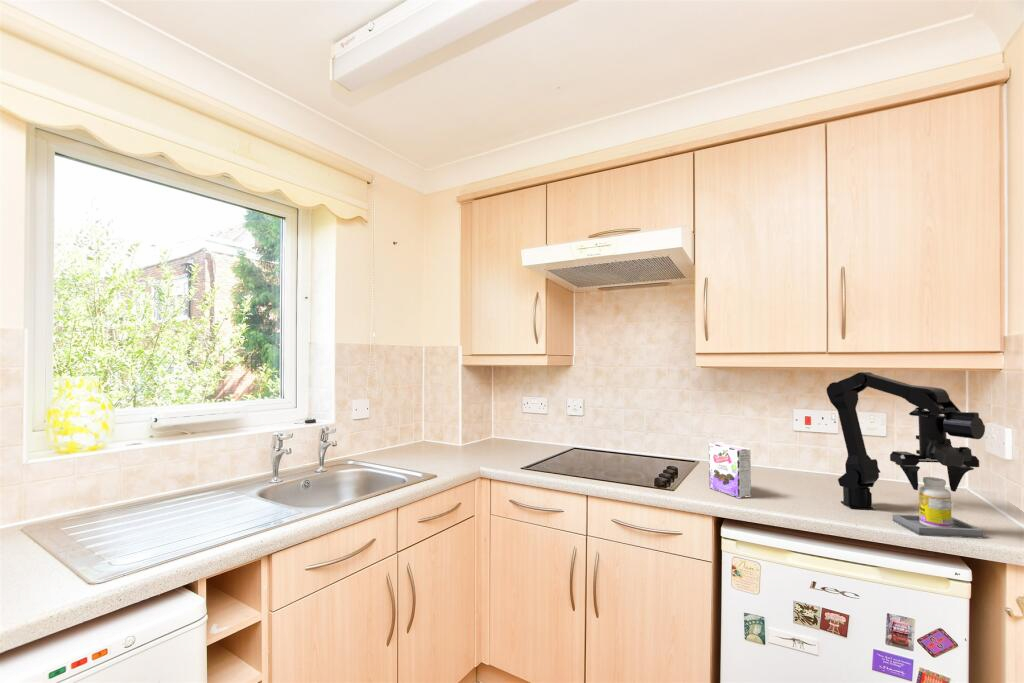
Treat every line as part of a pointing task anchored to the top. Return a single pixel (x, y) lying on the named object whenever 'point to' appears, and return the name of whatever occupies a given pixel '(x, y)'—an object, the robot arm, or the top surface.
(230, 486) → the top surface
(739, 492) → the candy box
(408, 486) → the top surface
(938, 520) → the supplement bottle
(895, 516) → the tray
